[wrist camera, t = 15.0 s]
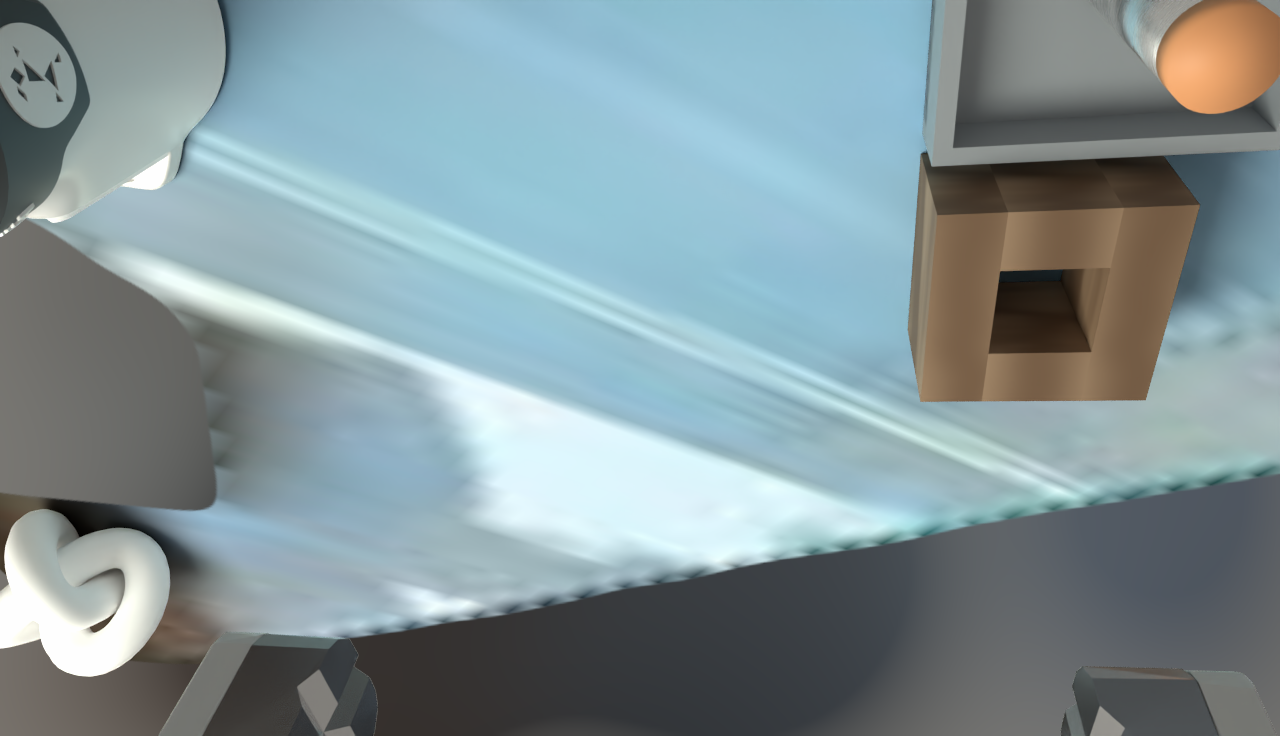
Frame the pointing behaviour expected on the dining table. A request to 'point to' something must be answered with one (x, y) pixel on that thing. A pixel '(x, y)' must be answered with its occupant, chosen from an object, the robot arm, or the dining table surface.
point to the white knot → (81, 591)
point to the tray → (1063, 91)
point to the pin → (1202, 47)
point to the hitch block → (1045, 310)
